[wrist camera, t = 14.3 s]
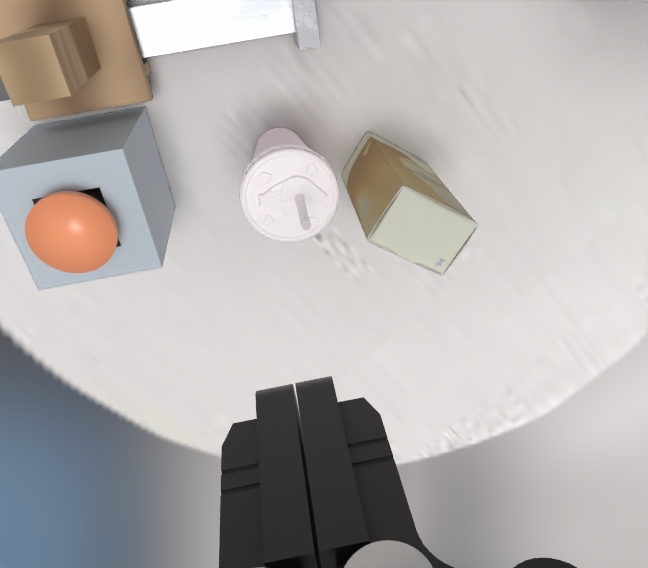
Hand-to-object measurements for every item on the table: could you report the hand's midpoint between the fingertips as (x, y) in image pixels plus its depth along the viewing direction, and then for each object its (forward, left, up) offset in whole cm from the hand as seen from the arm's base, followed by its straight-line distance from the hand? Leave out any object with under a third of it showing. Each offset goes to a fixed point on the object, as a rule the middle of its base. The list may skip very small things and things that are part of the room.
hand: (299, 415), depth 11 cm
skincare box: (-9, +9, -35) cm, 37 cm away
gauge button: (+12, +5, -30) cm, 33 cm away
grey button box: (+12, +5, -35) cm, 37 cm away
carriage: (+11, -4, -35) cm, 37 cm away
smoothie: (-1, +6, -35) cm, 36 cm away
